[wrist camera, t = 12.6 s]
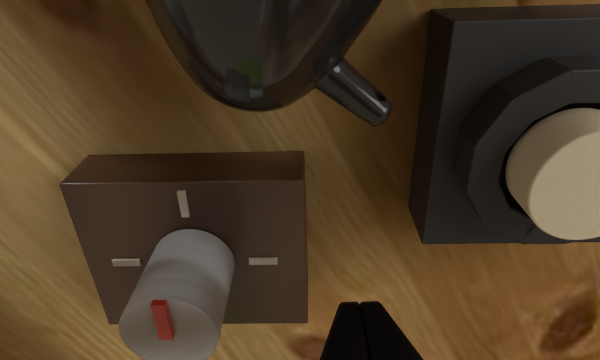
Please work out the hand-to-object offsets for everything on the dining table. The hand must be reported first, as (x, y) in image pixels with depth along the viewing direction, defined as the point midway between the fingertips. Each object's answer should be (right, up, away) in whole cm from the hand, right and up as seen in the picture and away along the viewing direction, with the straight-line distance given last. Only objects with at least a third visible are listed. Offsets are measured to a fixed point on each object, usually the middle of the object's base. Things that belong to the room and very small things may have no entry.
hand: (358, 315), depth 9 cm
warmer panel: (-6, 0, +14) cm, 16 cm away
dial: (-6, -1, +12) cm, 14 cm away
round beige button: (+9, +4, +7) cm, 12 cm away
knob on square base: (+9, +6, +11) cm, 15 cm away
